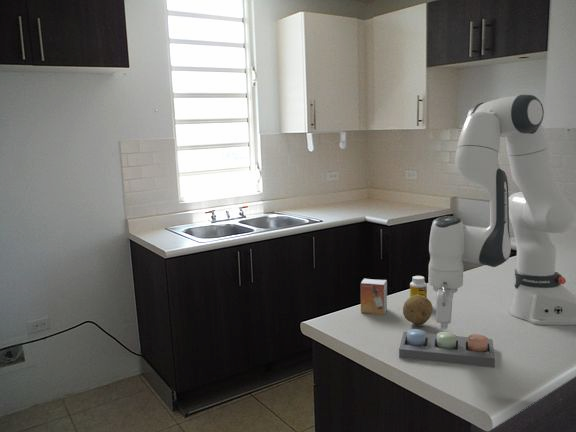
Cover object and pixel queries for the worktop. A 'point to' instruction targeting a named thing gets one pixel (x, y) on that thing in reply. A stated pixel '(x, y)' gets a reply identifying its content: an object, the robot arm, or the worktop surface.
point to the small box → (374, 296)
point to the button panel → (447, 352)
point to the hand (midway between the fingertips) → (444, 326)
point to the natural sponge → (417, 309)
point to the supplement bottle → (418, 286)
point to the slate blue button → (416, 337)
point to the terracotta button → (477, 343)
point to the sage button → (446, 340)
